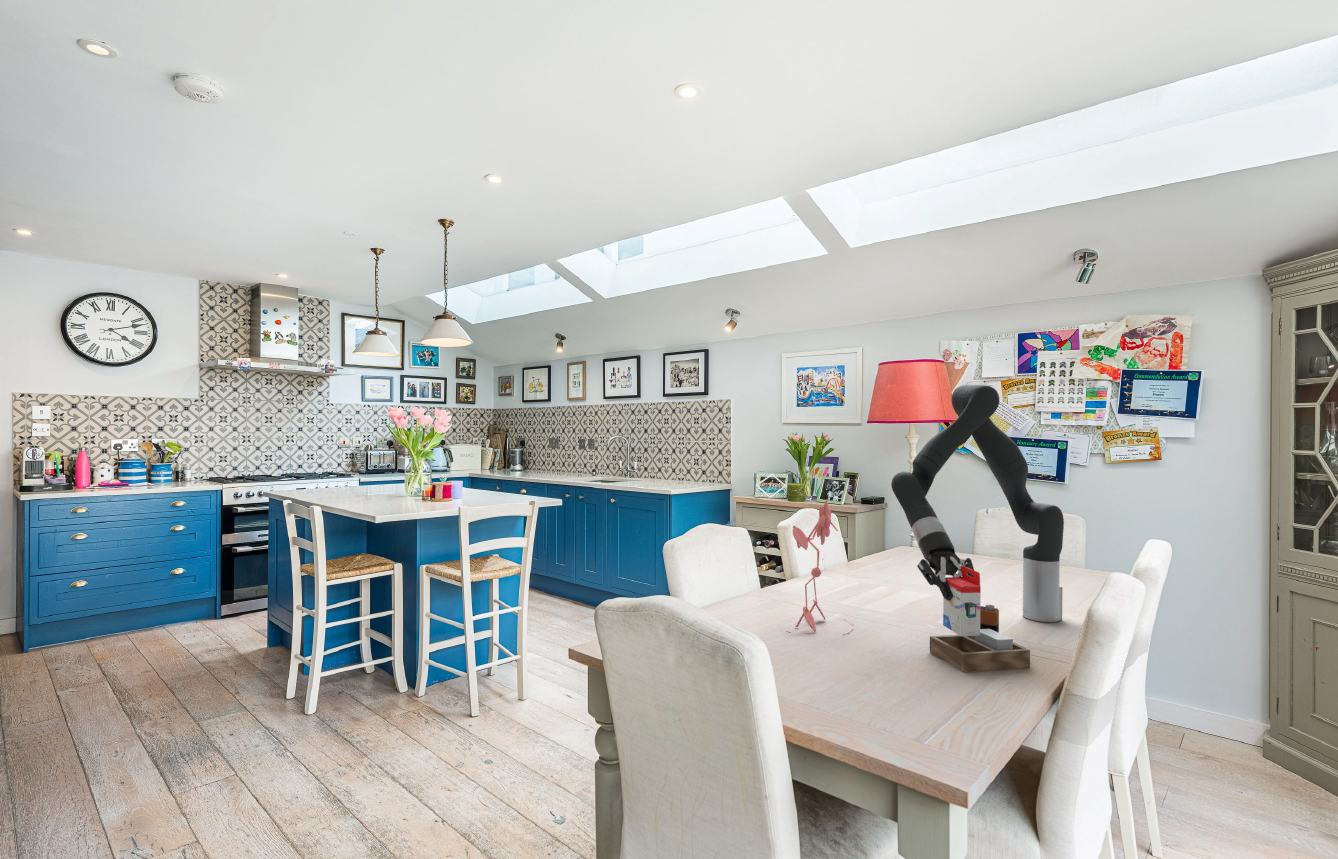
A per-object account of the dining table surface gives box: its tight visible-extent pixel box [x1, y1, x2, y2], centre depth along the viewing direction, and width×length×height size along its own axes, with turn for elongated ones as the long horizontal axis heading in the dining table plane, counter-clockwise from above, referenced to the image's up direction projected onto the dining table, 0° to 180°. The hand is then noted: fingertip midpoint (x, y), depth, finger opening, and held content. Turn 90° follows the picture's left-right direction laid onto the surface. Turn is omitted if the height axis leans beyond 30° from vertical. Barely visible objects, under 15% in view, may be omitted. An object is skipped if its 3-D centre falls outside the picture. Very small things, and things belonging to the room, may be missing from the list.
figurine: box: [785, 498, 854, 636], centre depth 178 cm, size 15×26×35 cm, turn 151°
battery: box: [980, 604, 1000, 633], centre depth 165 cm, size 4×7×10 cm, turn 55°
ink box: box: [942, 565, 982, 636], centre depth 153 cm, size 8×5×15 cm, turn 5°
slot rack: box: [929, 634, 1031, 673], centre depth 153 cm, size 17×13×4 cm
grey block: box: [975, 629, 1014, 651], centre depth 154 cm, size 4×8×6 cm, turn 11°
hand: (961, 598), depth 153 cm, fingers closed on ink box, 5 cm apart
